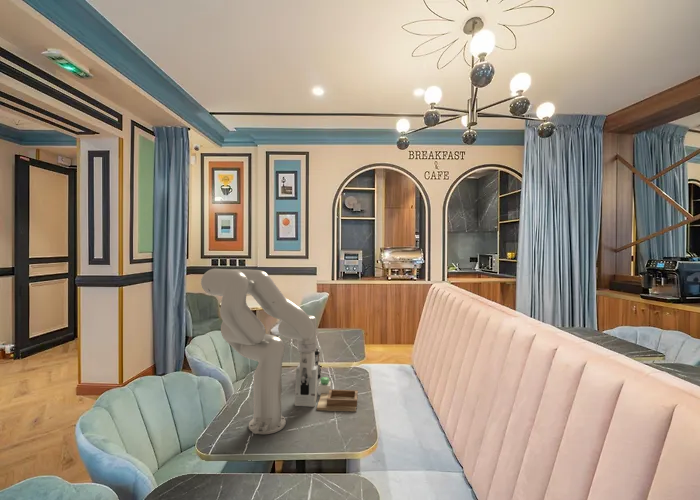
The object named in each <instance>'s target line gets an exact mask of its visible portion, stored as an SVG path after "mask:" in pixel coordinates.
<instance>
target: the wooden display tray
mask: <svg viewBox="0 0 700 500" xmlns="http://www.w3.org/2000/svg"><path fill="white" fill-rule="evenodd" d="M358 391H359V390H358V389H335V388H334V389H333V388H331V389H330V390H329V394H326V393H321V395H319V400H318V401H317V402H318V403H317V406H316V411H328V412H329V411H330V412H357V407H358V396H359V393H358Z"/></svg>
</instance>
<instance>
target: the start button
mask: <svg viewBox="0 0 700 500" xmlns="http://www.w3.org/2000/svg"><path fill="white" fill-rule="evenodd" d="M320 381H321V383H322V384H327V383H329V381H330V378H329V377H327V376H323V377H320Z"/></svg>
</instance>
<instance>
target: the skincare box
mask: <svg viewBox="0 0 700 500" xmlns="http://www.w3.org/2000/svg"><path fill="white" fill-rule="evenodd" d="M318 365H319V364H318ZM318 365H315V366H314V367H313V377H312V378H309V380H308V384H309V395H301V394H300V384H301V378H300V363H299V364H298V365H297V366H296V369H295V383H294V384H295V387H294V388H295V391H294V407H310V408H311V407H312V408H314V407H315V406H316V403H317V402H318V401H317V398H318V397H317V396H318V380H319V379H318V378H319V377H318ZM306 371H307V370H306ZM301 376H302V375H301ZM305 376H308V375H305ZM305 380H306V382H307V379H305Z"/></svg>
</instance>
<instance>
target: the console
mask: <svg viewBox="0 0 700 500" xmlns="http://www.w3.org/2000/svg"><path fill="white" fill-rule="evenodd" d="M330 389H332V381H330V380H329V383H327V384H322V383H321V380H320V381H318V384H317V396H321V393H326V394H329V390H330Z"/></svg>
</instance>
